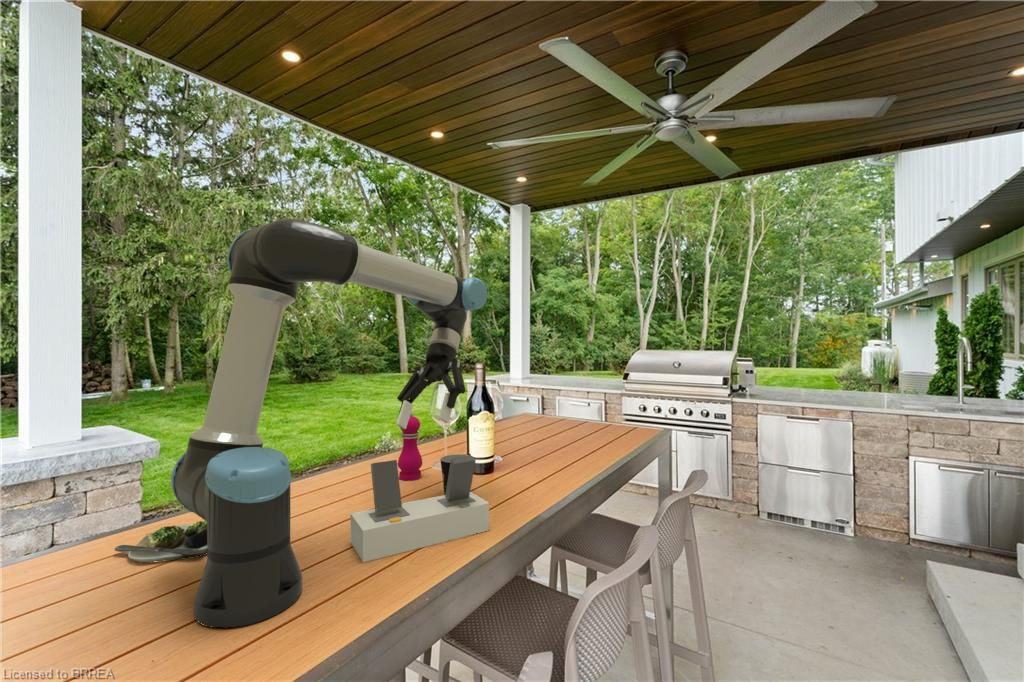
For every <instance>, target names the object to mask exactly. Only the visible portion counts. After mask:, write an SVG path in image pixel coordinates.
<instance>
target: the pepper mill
mask: <svg viewBox="0 0 1024 682" xmlns="http://www.w3.org/2000/svg"><path fill="white" fill-rule="evenodd" d="M413 415H414V412H413V411H411V414H410V417H409V421H408V424H407V427H406V429H402V428H401V427H399V429H400V430H401V431H402V432H401V438H402V441H403V442H402V449H401V451H400V454H399V456H398V460H397V467H398V469H399V470H400V472H399V480H401V481H405V480H407V481H408V480H411V481H416V480H415V479H417V480H419V479H421V477H422V471H421V470H420V468H422V467H423V458H422V455H421V453H420V451H419V446H418V438H419V430H420V428H421V421H420V419H419V418H418V417H417V416H413ZM418 478H419V479H418Z"/></svg>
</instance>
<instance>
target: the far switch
mask: <svg viewBox="0 0 1024 682" xmlns="http://www.w3.org/2000/svg"><path fill="white" fill-rule="evenodd" d="M475 467H476V459H475V458H474V456H473V455H469V456H467V457H461V458H454V459H451V463H450V469H449V475H448V481H447V487H446V494H445V498H446V499H447V501H448V502H450V501H455V500H460V499H465V498H469V495H470V491H471V488H472V483H473V477H474V472H475Z"/></svg>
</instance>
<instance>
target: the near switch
mask: <svg viewBox="0 0 1024 682" xmlns="http://www.w3.org/2000/svg"><path fill="white" fill-rule="evenodd" d="M370 473H371V480H372V481H371V483H372V493H373V503H374V509H375V512H380V511H385V510H390V509H395V508H400V507H402V503H403V502H402V496H401V488H400V475H399V467H398V460H397V459H393V460H386V461H379V462H373V463H370Z"/></svg>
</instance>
